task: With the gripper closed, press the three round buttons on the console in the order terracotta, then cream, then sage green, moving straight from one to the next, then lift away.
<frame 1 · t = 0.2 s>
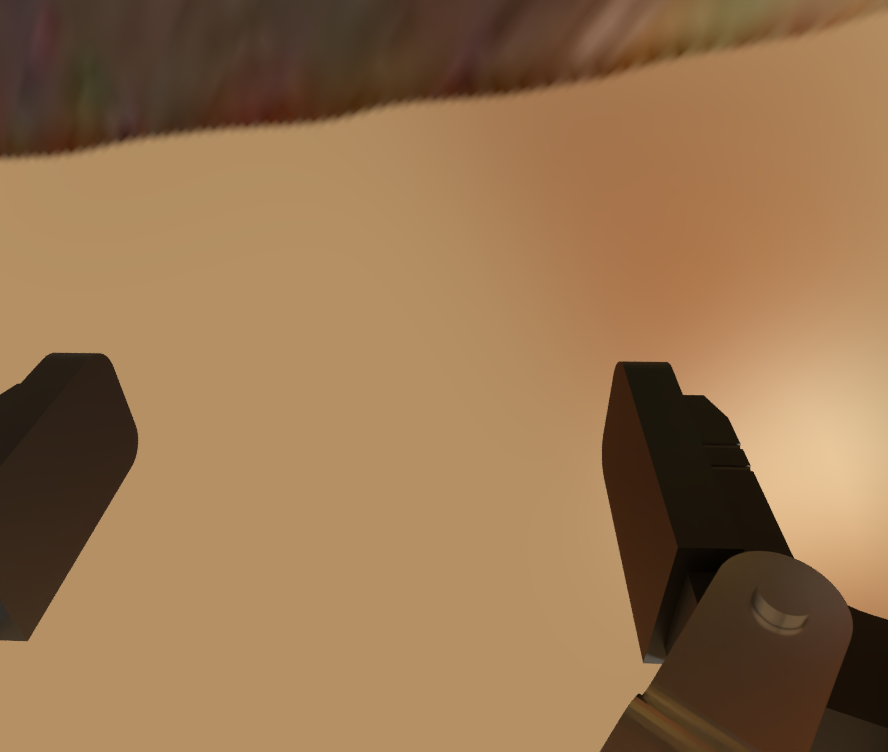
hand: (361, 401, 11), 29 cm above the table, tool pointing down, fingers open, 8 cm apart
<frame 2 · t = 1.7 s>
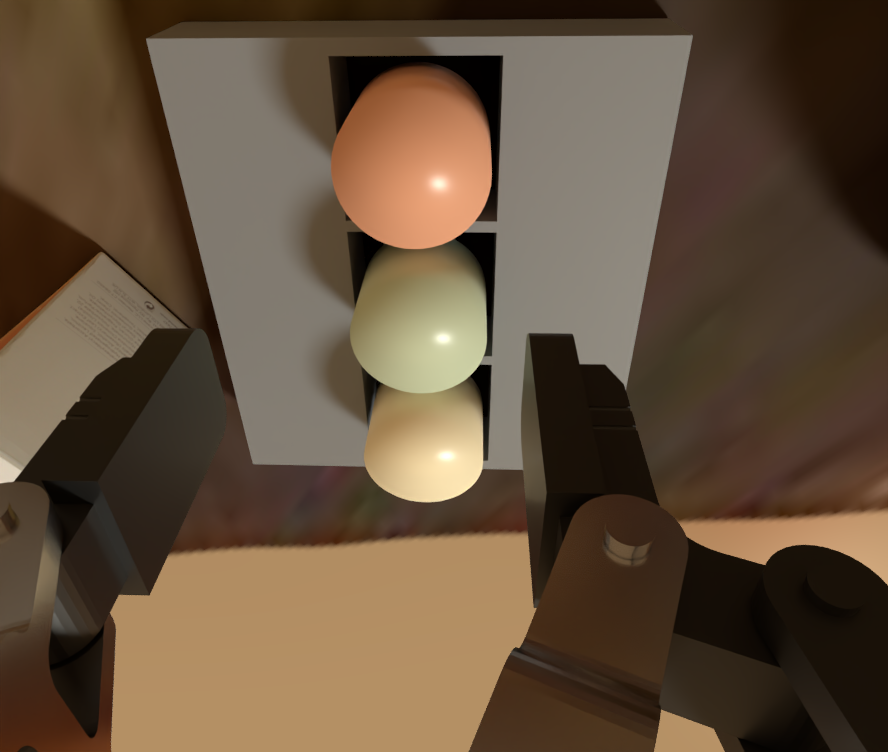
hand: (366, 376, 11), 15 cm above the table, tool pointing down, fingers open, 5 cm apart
small box: (103, 337, 30), on the table
button cream: (426, 430, 27), point 4 cm above the table, slide at 0.0 cm
button sage: (421, 312, 24), point 4 cm above the table, slide at 0.0 cm
console: (428, 260, 27), on the table
button terracotta: (415, 155, 20), point 4 cm above the table, slide at 0.0 cm
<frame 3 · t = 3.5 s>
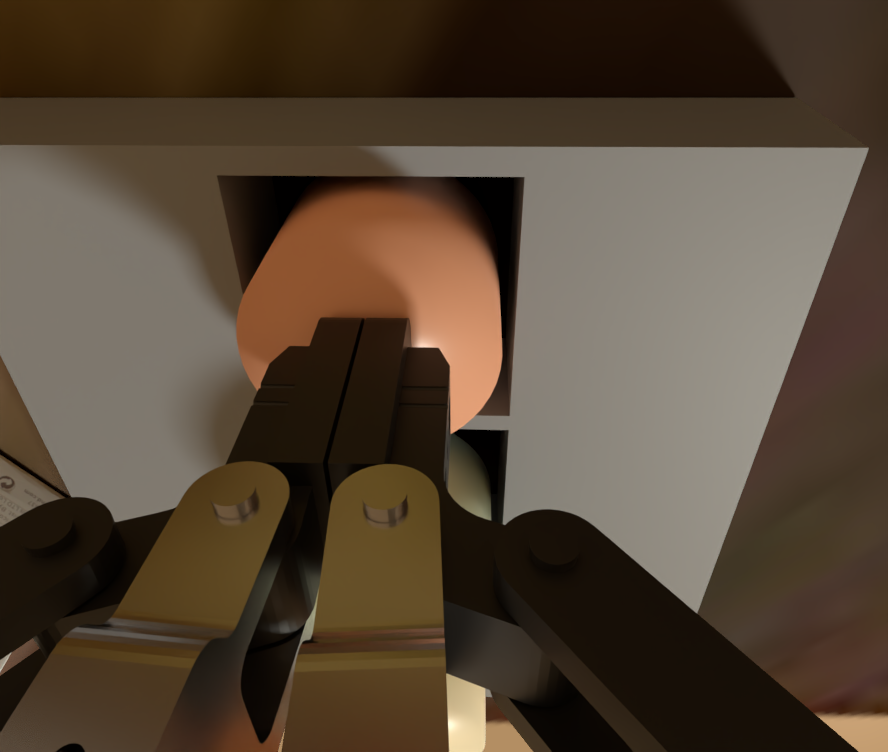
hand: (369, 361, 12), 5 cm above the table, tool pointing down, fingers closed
button cream: (402, 673, 19), point 4 cm above the table, slide at 0.0 cm
button sage: (391, 543, 15), point 4 cm above the table, slide at 0.0 cm
console: (406, 426, 18), on the table
button terracotta: (381, 302, 13), point 3 cm above the table, slide at -1.3 cm, touching gripper
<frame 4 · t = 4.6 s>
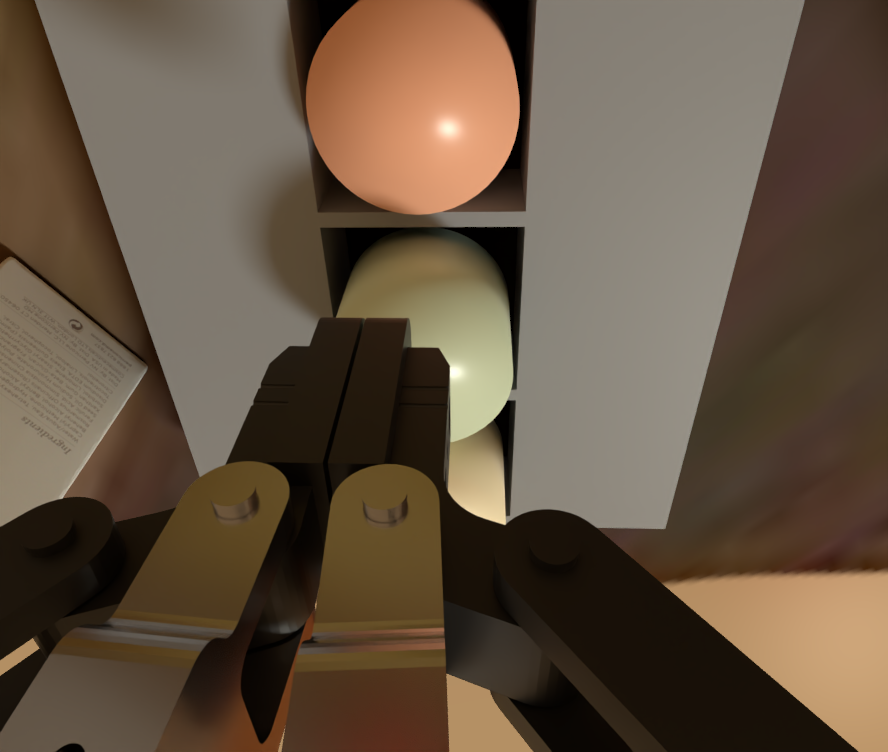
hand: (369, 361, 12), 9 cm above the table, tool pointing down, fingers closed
small box: (27, 362, 24), on the table
button cream: (431, 484, 21), point 4 cm above the table, slide at 0.0 cm
button sage: (423, 336, 18), point 4 cm above the table, slide at 0.0 cm
console: (432, 264, 21), on the table
button terracotta: (418, 92, 16), point 2 cm above the table, slide at -2.0 cm
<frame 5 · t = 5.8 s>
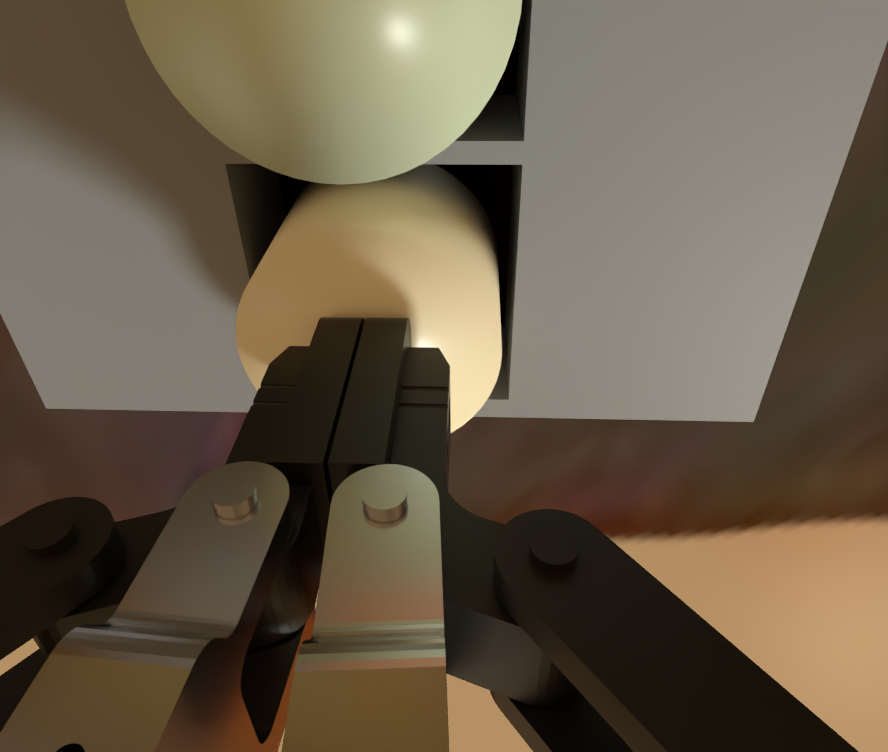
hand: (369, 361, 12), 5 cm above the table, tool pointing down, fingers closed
button cream: (380, 301, 13), point 3 cm above the table, slide at -0.8 cm, touching gripper
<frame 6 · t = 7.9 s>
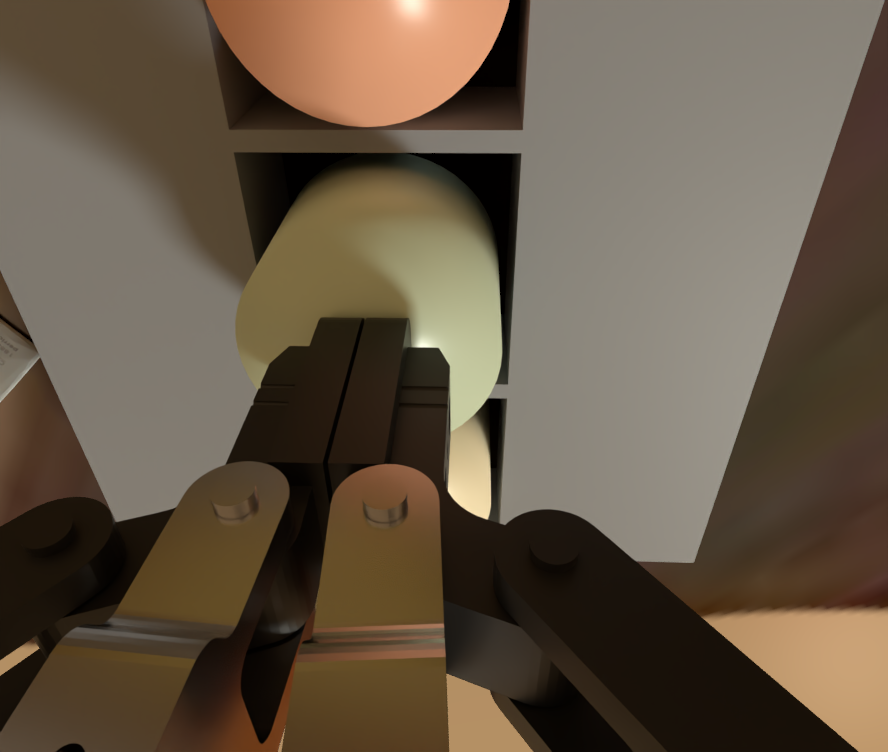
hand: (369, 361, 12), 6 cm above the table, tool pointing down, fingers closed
button cream: (403, 452, 18), point 2 cm above the table, slide at -1.9 cm
button sage: (381, 300, 13), point 4 cm above the table, slide at -0.3 cm, touching gripper
console: (399, 219, 16), on the table
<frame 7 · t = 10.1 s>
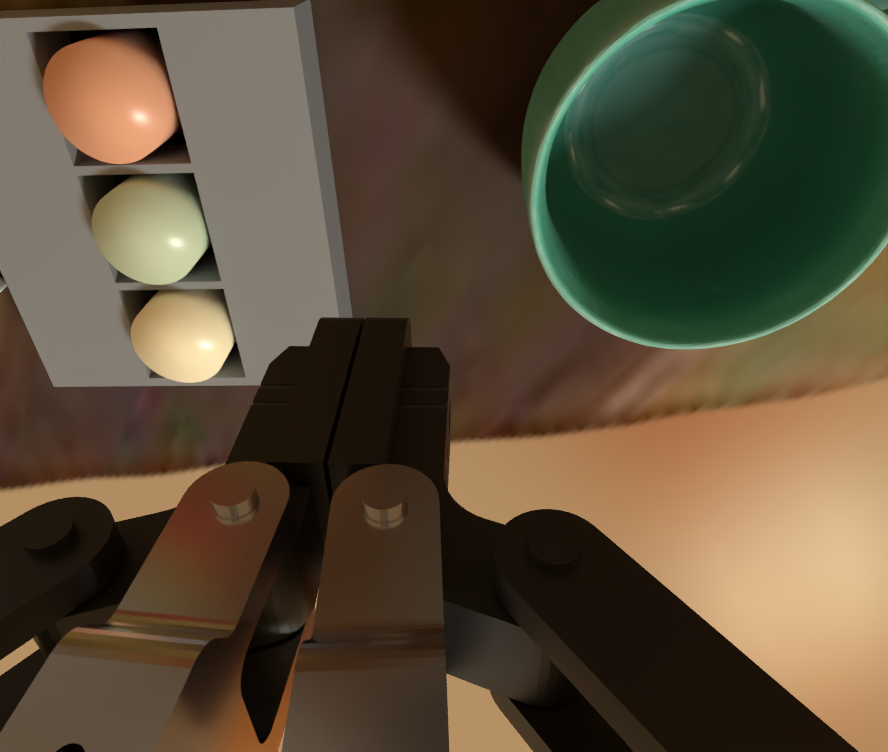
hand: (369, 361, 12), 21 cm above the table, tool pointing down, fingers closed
button cream: (190, 326, 34), point 2 cm above the table, slide at -1.9 cm
button sage: (160, 223, 31), point 2 cm above the table, slide at -1.9 cm
mug: (698, 93, 29), on the table
console: (176, 206, 33), on the table
button terracotta: (122, 96, 28), point 2 cm above the table, slide at -2.0 cm
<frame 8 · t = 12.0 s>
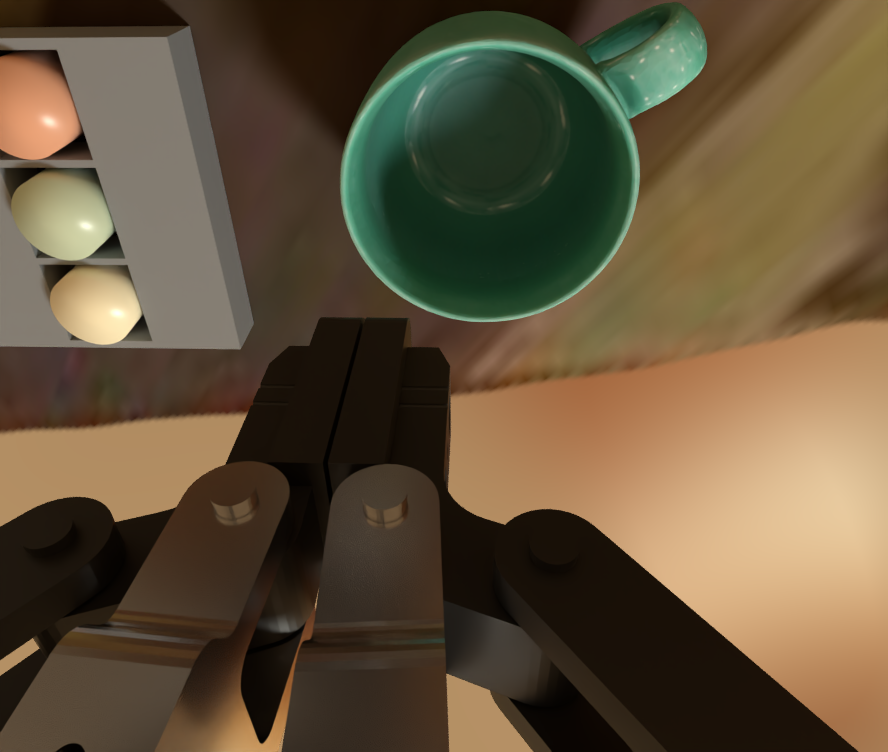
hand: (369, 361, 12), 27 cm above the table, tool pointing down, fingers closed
button cream: (104, 296, 40), point 2 cm above the table, slide at -1.9 cm
button sage: (72, 208, 37), point 2 cm above the table, slide at -1.9 cm
mug: (517, 111, 35), on the table
console: (90, 194, 39), on the table
button terracotta: (34, 102, 34), point 2 cm above the table, slide at -2.0 cm
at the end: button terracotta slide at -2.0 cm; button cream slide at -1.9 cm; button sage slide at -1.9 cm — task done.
